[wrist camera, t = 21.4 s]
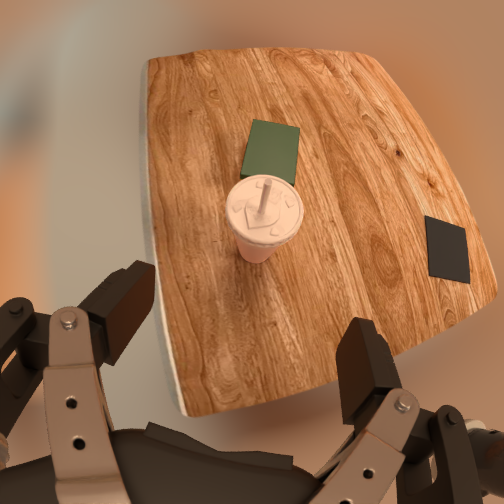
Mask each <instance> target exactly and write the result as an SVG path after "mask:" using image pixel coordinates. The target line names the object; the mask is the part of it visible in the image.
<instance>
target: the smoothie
mask: <svg viewBox="0 0 504 504" xmlns="http://www.w3.org/2000/svg"><path fill="white" fill-rule="evenodd" d="M225 211H226V219H227V222H228V226H229V227H230V229H231V230H232V232H233V233H234V235H235V238H236V242H237V245H238V249H239V252H240V254H241V256H242V257H243V258H244V259H245V260H246V261H248V262H250V263H261V262H264V261H265V260H267V259H268V258H269V257H270V255H271V254H272V253H273V252H274V251H275V250H276V249H277V248H278V247H279V246H280V245H283V244H284V243H286V242H287V241H289V240H291V239H292V238H293V236H294V235H295V234H296V233H297V232H298V229H299V227H300V225H301V222H302V219H303V212H304V211H303V204H302V200H301V198H300V196H299V194H298V193H297V191H296V190H295V189H294V188H293V187H292V186H291V185H290V184H289V183H287V182H286V181H284V180H282V179H280V178H278V177H275V176H271V175H254V176H250V177H247V178H245V179H243V180H241V181H240V182H238V183H237V184H236V185H235V186H234V187H233V188H232V190H231V191H230V193H229V195H228V198H227V201H226V208H225Z"/></svg>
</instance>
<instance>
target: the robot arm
mask: <svg viewBox="0 0 504 504" xmlns="http://www.w3.org/2000/svg"><path fill="white" fill-rule="evenodd" d="M154 293H155V266H154V265H152V264H149V263H145V262H142V261H138V260H136V261H135V262H134V263H133V264H132V265H131V266H130V267H129V268H128V269H126V270H125V269H123V268H122V269H120V270H117V271H115V272H113V273H111V274H110V275H109V276H108V277H107V278H106V279H105V280H104V282H102V283H101V284H100V285H99V286H98V287H97V288H95V289H94V290H93V291H92V293H90V294H89V295H88V296H87V297H86V299H84V300H83V301H82V302H81V303H80V304H79V305H78V306H77V307H64V308H61V309H59V310H57V311H56V312H54V313H53V314H52V315H47V314H42V313H37V312H34V308H33V305H32V303H31V301H30V300H28V299H26V298H23V297H17V298H13V299H10V300H9V301H7V302H6V303H5V304H3V305H2V306H1V307H0V504H379V503H380V501H381V500H382V498H383V497H384V495H385V493H386V492H387V490H388V488H389V487H390V485H391V483H392V482H393V480H394V478H395V476H396V487H397V504H483V500H482V497H484V496H486V495H488V494H492V495H495V496H498V497H501V498H504V432H500V431H497V430H494V431H490V430H485V429H481V428H471V429H469V430H467V429H466V426H465V423H464V419H463V417H462V415H461V413H460V412H459V411H458V410H457V409H456V408H454V407H452V406H450V405H443V406H441V407H440V408H439V409H438V410H437V411H436V412H435V413H434V412H431V411H428V410H425V409H422V408H420V406H419V403H418V400H417V399H416V397H415V396H414V395H413V394H412V393H410V392H409V391H407V390H404V389H403V388H402V386H401V382H400V379H399V376H398V372H397V370H396V366H395V363H393V362H394V360H393V357H392V355H391V351H390V348H389V346H388V343H387V342H386V341H385V339H384V338H383V337H382V336H381V334H377V331H376V328H375V325H374V322H373V321H372V320H368V319H363V318H358V317H354V318H353V319H352V321H351V323H350V324H349V326H348V328H347V330H346V332H345V334H344V336H343V338H342V339H341V341H340V343H339V345H338V348H337V351H336V365H337V373H338V381H339V389H340V398H341V408H342V417H343V424H347V425H354V431H353V432H352V433H351V434H350V435H349V436H348V438H347V439H346V440H345V441H344V443H343V444H342V445H341V446H340V448H339V449H338V450H337V451H336V453H335V454H334V455H333V456H332V457H331V459H330V460H329V461H328V462H327V463H326V464H325V465H324V466H323V467H322V468H321V469H320V470H319V471H318V472H317V473H316V474H315V475H314V476H313V475H312V474H310V473H308V472H307V471H305V470H303V469H301V468H299V467H297V466H294V465H293V456H289V455H281V454H274V453H267V452H261V451H245V452H221V451H217V450H215V449H213V448H211V447H208V446H206V445H205V444H203V443H201V442H199V441H197V440H195V439H193V438H191V437H189V436H188V435H186V434H184V433H181V432H178V431H174V430H172V429H169V428H166V427H163V426H160V425H157V424H154V423H152V422H149V423H148V425H147V427H146V429H145V430H144V429H121V430H114V426H113V423H112V420H111V417H110V414H109V410H108V406H107V402H106V397H105V393H104V389H103V384H102V379H101V374H100V369H99V368H100V367H101V365H102V364H103V362H104V363H107V364H109V365H111V366H114V365H115V363H116V361H117V360H118V359H119V357H120V355H121V354H122V352H123V351H124V349H125V348H126V346H127V345H128V343H129V342H130V340H131V339H132V337H133V336H134V334H135V333H136V331H137V329H138V328H139V327H140V325H141V324H142V322H143V321H144V319H145V318H146V316H147V315H148V314H149V312H150V311H151V308H152V306H153V302H154ZM14 350H15V351H16V355H15V356H14V358H13V359H12V360H11V362H10V363H9V364H8V365H7V367H6V368H5V369H4V371H3V372H2V373H1V368H2V366H3V364H4V362H5V361H6V360H7V359H8V357H9V356H10V355H11V354H12V352H13V351H14ZM42 379H43V384H44V402H45V413H46V423H47V431H48V437H49V443H50V450H51V455H48V456H45V457H42V458H39V459H36V460H33V461H30V462H26V463H23V464H19V465H16V466H12V467H8V468H6V463H7V462H8V461H9V453H8V443H7V440H6V438H7V437H8V435H9V433H10V431H11V429H12V428H13V426H14V424H15V423H16V421H17V419H18V417H19V416H20V414H21V412H22V411H23V409H24V407H25V406H26V404H27V403H28V401H29V399H30V398H31V396H32V395H33V393H34V391H35V390H36V388H37V387H38V385H39V384H40V382H41V381H42ZM434 454H435V460H436V466H437V478H436V480H435V481H434V483H433V484H432V477H431V470H430V463H429V458H430V457H431V456H432V455H434Z"/></svg>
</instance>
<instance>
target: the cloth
mask: <svg viewBox="0 0 504 504" xmlns="http://www.w3.org/2000/svg"><path fill="white" fill-rule="evenodd" d="M425 224H426V235H427V247H428V264H429V276H434V277H439V278H444V279H449V280H454V281H459V282H464V283H469V284H470V269H469V257H468V248H467V240H466V233H465V229H464V228H462V227H459V226H456V225H453V224H450V223H447V222H444V221H441V220H438V219H435V218H432V217H429V216H426V215H425Z"/></svg>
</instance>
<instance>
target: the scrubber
mask: <svg viewBox="0 0 504 504" xmlns="http://www.w3.org/2000/svg"><path fill="white" fill-rule="evenodd" d="M299 133H300V128H298V127H293V126H289V125H284V124H278V123H273V122H267V121H262V120H256V119H253V122H252V127H251V131H250V135H249V139H248V143H247V147H246V152H245V156H244V160H243V164H242V169H241V173H240V181H241V180H243V179H245V178H247V177H250V176H254V175H271V176H275V177H278V178H280V179H282V180H284V181H286V182H287V183H289V184H290V185H291V186H292V187H294V184H295V175H296V165H297V155H298V144H299Z"/></svg>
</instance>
